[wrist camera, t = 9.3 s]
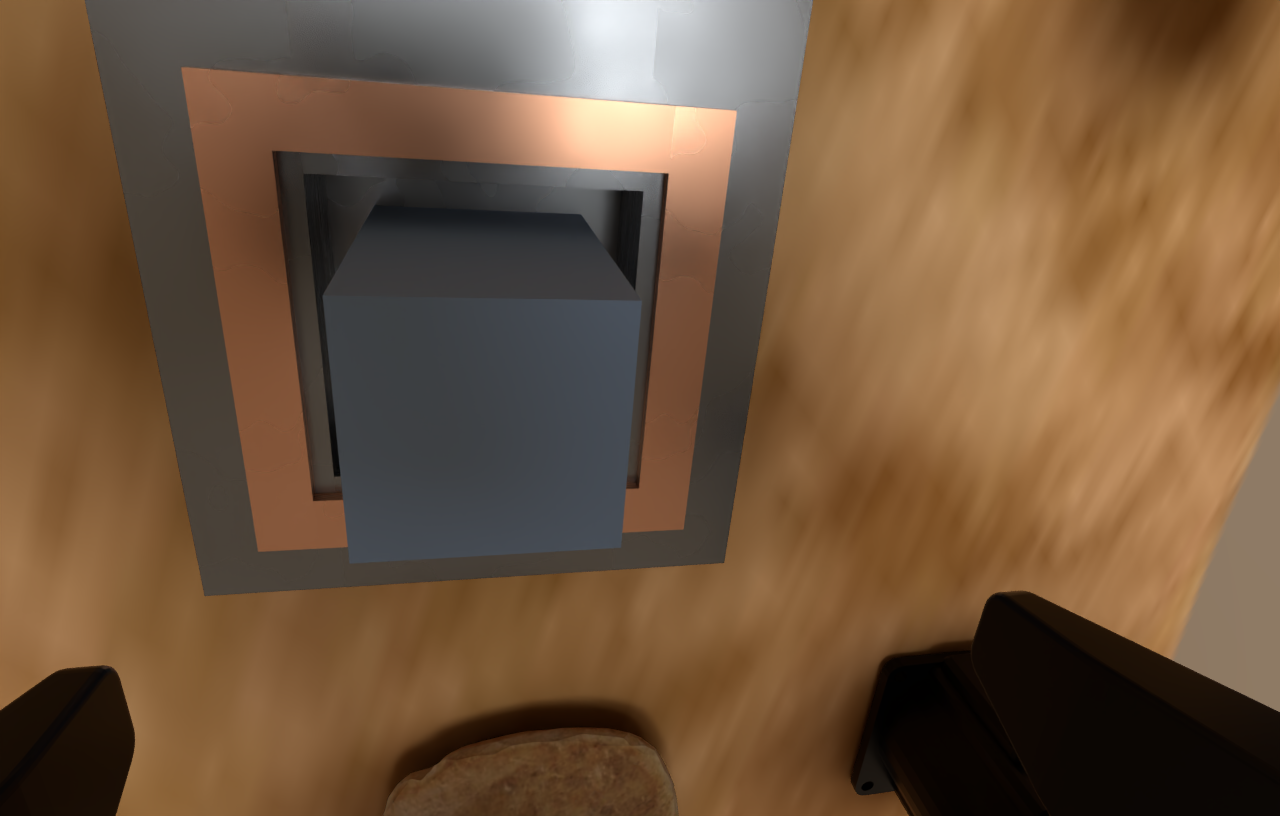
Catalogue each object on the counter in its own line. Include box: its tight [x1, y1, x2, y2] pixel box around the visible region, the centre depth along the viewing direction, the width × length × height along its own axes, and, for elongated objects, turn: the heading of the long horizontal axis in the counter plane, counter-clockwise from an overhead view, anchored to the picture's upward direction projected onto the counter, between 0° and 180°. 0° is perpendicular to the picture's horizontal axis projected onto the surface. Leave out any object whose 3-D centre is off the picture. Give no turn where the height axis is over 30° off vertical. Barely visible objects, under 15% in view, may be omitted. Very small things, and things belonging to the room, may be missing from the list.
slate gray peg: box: [323, 206, 642, 564], centre depth 14 cm, size 4×4×6 cm
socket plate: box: [85, 0, 813, 596], centre depth 14 cm, size 24×12×3 cm, turn 175°
